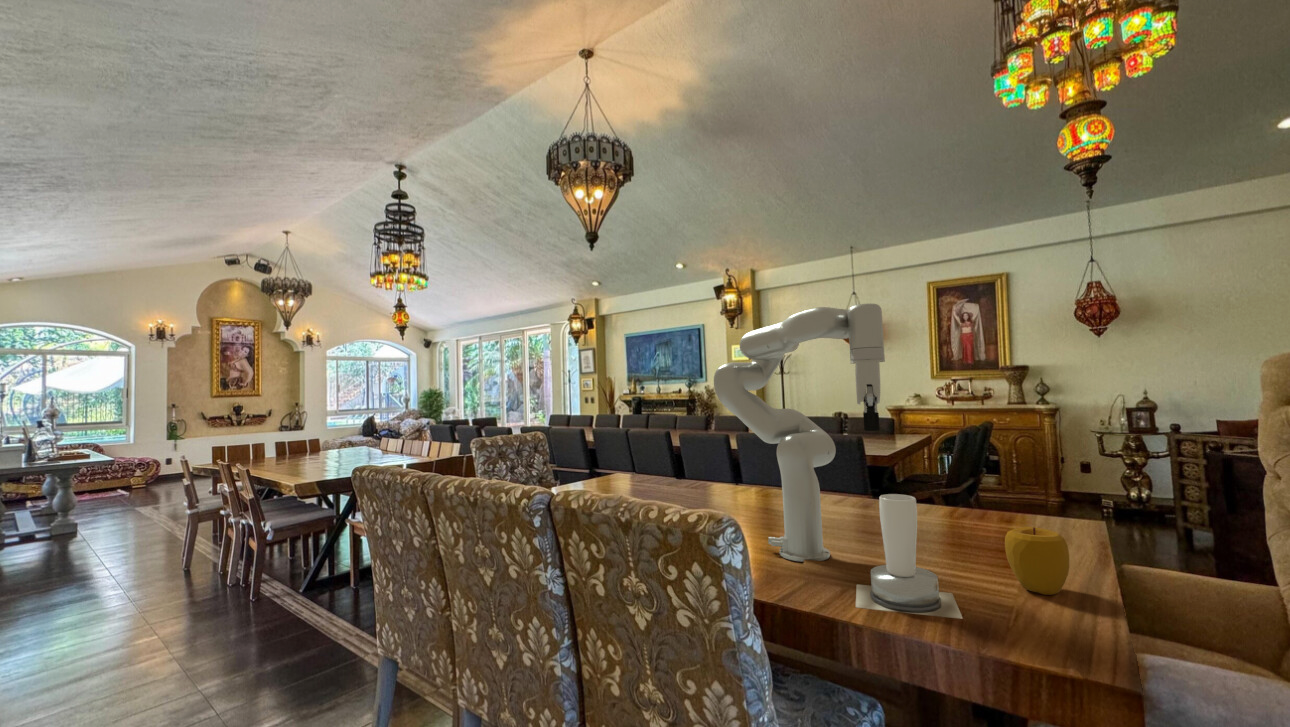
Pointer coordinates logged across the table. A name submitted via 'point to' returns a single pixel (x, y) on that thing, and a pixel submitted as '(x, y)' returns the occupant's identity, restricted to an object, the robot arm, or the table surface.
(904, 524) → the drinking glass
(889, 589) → the grey short round cylinder
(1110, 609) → the table surface
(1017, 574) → the apple
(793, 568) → the table surface
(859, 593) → the board
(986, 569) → the table surface
